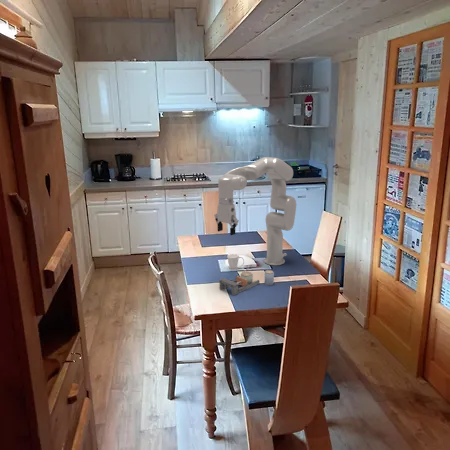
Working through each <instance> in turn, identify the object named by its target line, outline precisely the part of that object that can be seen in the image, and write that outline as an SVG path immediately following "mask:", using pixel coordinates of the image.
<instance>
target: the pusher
mask: <svg viewBox="0 0 450 450" xmlns="http://www.w3.org/2000/svg"><path fill="white" fill-rule="evenodd" d="M235 280H236V282H237V283H238V286H241V287H243V286H245V285H247V279H244V278H241V276H238V275H237V276H236V279H235ZM228 288H229V289H231V288H232V287H231V286H229V287H228Z"/></svg>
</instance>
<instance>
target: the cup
mask: <svg viewBox="0 0 450 450" xmlns="http://www.w3.org/2000/svg"><path fill="white" fill-rule="evenodd" d="M226 257H227V261H228V262H227V263H228V264H227V265H228V267H229V269H230V270H231V271H234V270H238V269H239V268H241V267H242V266H244V264H245V260H244V258H243V257H242V256H240V255H239V254H237V253H229V254H227V256H226ZM239 259H242V261H243V263H242V264H241V265H239V266H238V264H239Z"/></svg>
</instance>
